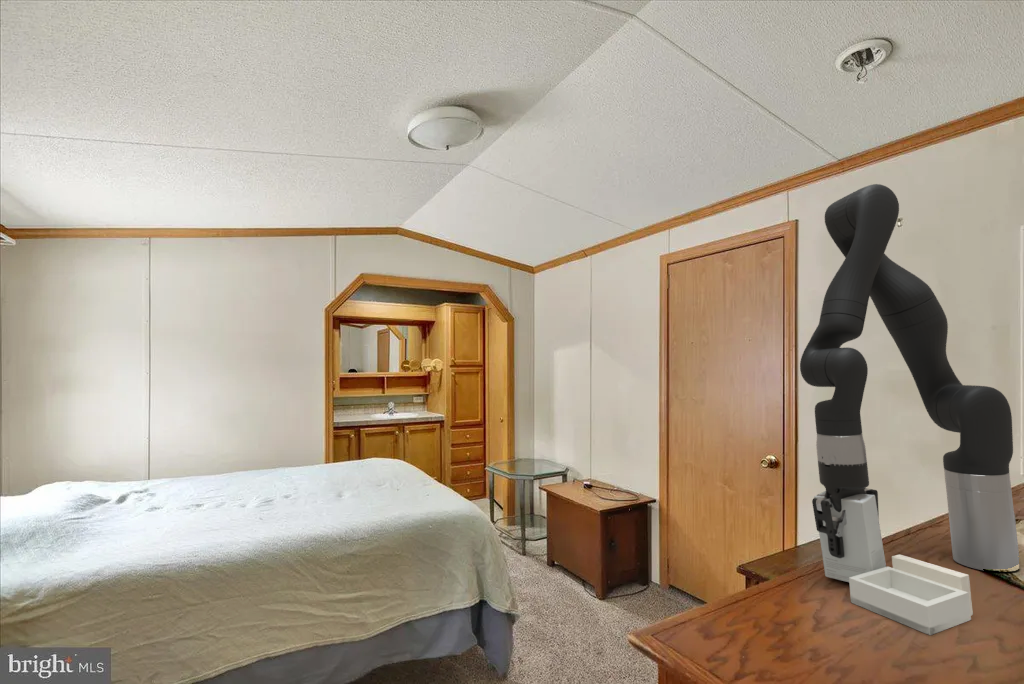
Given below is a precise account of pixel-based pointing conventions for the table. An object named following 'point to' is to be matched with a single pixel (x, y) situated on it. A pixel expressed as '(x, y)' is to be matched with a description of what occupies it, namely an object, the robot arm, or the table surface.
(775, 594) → the table surface
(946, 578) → the wall
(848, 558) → the skincare box
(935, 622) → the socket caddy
